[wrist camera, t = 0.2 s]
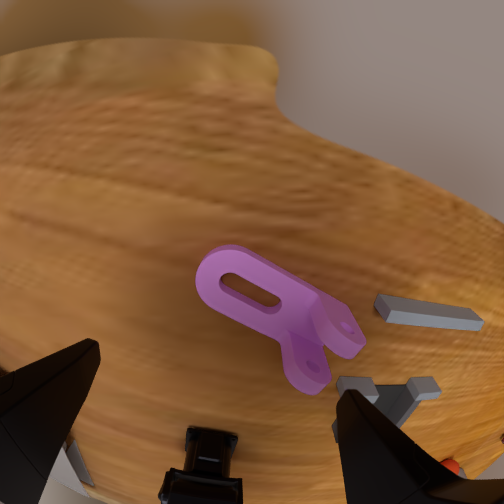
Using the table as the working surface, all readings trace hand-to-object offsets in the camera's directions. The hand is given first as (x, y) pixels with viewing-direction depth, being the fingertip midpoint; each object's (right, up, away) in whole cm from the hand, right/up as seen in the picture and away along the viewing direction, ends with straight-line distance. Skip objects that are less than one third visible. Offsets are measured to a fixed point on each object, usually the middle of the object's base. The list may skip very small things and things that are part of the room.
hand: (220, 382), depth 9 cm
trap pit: (+16, -14, +20) cm, 30 cm away
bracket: (+3, +1, +16) cm, 16 cm away
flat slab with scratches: (-46, -34, +29) cm, 64 cm away
